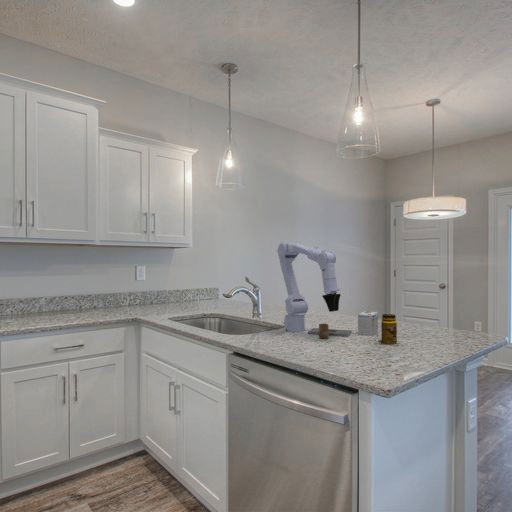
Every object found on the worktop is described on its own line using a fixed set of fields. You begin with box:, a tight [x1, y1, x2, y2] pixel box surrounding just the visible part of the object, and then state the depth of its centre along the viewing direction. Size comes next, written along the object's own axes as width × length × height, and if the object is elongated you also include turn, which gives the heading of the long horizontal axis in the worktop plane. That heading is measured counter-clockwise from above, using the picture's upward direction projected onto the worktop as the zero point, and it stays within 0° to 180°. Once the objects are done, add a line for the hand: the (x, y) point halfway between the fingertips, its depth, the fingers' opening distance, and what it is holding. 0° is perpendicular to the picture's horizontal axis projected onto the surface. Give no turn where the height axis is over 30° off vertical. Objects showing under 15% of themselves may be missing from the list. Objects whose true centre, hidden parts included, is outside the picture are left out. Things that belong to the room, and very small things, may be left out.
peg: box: [318, 323, 330, 339], centre depth 160 cm, size 4×4×6 cm
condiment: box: [375, 313, 400, 346], centre depth 157 cm, size 7×8×12 cm
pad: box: [310, 335, 338, 342], centre depth 160 cm, size 10×7×2 cm
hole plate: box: [307, 327, 353, 338], centre depth 171 cm, size 18×10×3 cm, turn 66°
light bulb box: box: [357, 311, 379, 337], centre depth 171 cm, size 11×7×11 cm, turn 149°
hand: (334, 311), depth 159 cm, fingers open, 7 cm apart
